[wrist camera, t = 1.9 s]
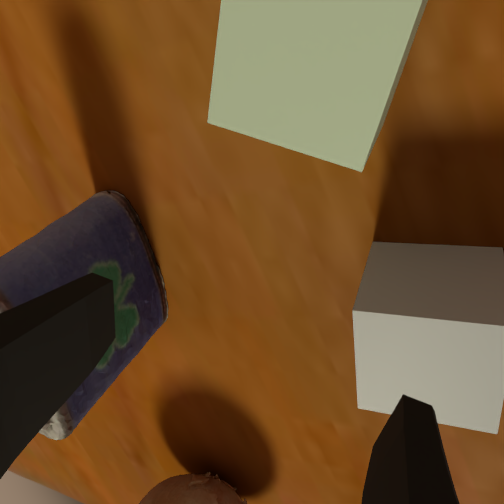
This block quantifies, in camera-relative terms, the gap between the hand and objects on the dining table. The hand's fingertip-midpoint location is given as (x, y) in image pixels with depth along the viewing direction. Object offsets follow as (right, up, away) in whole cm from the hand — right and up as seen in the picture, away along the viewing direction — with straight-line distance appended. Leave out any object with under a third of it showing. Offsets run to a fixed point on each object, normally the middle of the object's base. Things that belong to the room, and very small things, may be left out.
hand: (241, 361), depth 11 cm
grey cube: (+8, +1, +9) cm, 12 cm away
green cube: (+3, +10, +5) cm, 12 cm away
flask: (-6, +2, +15) cm, 17 cm away
